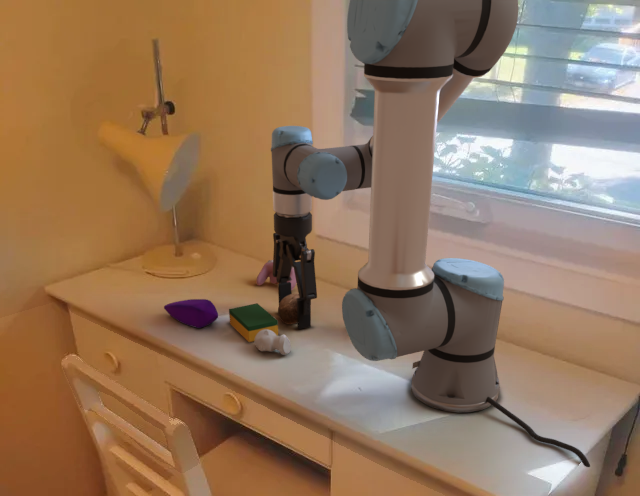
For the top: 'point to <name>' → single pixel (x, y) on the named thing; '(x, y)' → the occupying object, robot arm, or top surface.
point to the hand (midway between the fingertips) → (294, 319)
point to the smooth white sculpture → (272, 342)
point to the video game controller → (268, 272)
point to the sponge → (252, 320)
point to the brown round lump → (288, 309)
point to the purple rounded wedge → (193, 312)
